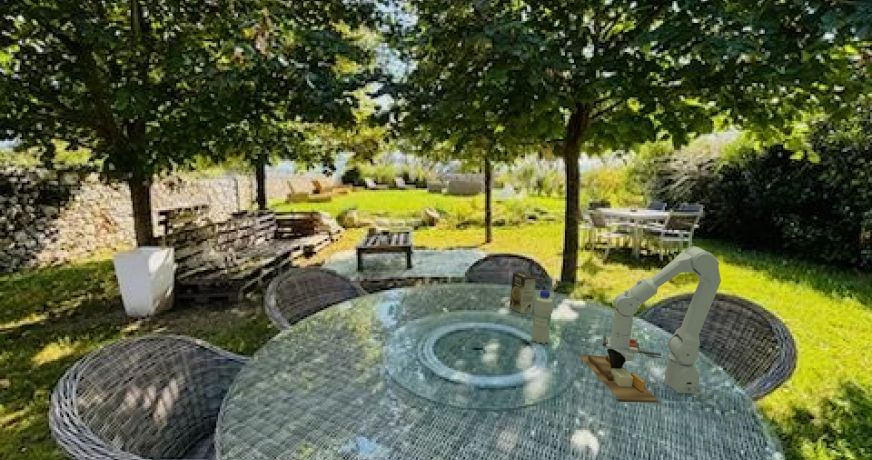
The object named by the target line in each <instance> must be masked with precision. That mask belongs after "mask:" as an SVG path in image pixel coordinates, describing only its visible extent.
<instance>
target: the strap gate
mask: <svg viewBox="0 0 872 460" xmlns="http://www.w3.org/2000/svg"><path fill="white" fill-rule="evenodd" d="M630 374H631V376H632V377H633V382H632V384H633V385H634V386H635V387H636V388H637V389H639V390H640V391H644V387H645V385H646V381H645V380H644V379H643V378H641V377H640V376H639V375H638V374H637V373H635V372H630Z"/></svg>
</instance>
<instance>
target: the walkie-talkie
mask: <svg viewBox="0 0 872 460" xmlns="http://www.w3.org/2000/svg"><path fill="white" fill-rule="evenodd" d="M606 337H609V336H606V335H605V336H604V338H603V339H604V340H603V343H602V346H603V347H607V346H606V344H608V343H606V342H605V341H606ZM629 347H630V350H631V353H636V354H644V355H649V356H662V353H660V352H653V351H646V350H641V349H640V348H641V347H640V343H639V342H637V340H636V339H635V338H634V337H630V344H629Z"/></svg>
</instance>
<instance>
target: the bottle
mask: <svg viewBox="0 0 872 460" xmlns="http://www.w3.org/2000/svg"><path fill="white" fill-rule="evenodd" d="M539 293H540V294H539V296H538V297H536V299H535V302H534V305H533V307H534V309H533V310H534V317H533V323H532V324H533V326H532V331H531V341H532V343H533V344H535V342H536V344H540V343H541V344H542V345H545V344H547V343H548V342H549V339H550V329H551V328H550V327H551V319H552V314H553V310H554V301H553V299H552V298H550V296H551V294H550V291H549V290H546V289H543V290H541V291H540V292H539Z"/></svg>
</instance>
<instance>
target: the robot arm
mask: <svg viewBox="0 0 872 460" xmlns="http://www.w3.org/2000/svg"><path fill="white" fill-rule="evenodd" d="M719 266H720V262H719V261H718V259H717V258H716V257H715V255H714V254H713V253H712V252H709V251H707V250H704V249H703V248H701V247H699V246H695V245H693V246H690V247H688V248H687V249H685V251H682V252H680V253H679V254H677V256H675V258H673V259H672V260H671V261H670V262H669V263H668V264H667V265H665V266H664V267H663V268H661V269H660V271H657V272H656V274H654V275H653V276H652V277H651V278H643V279H638V280H636V281H635V282H636V284H634V285H633V286H631V288H629V289H628V290H627V289H625V290H623V293H619V294H617V295H616V296H615V298H614V299H613V301H612V302H613V305H614V307H615V309H614V313H613V314H614V315H613V317H612V325H611V330H610V331H611V332H610V333H611V334H610V336H608V337H606V341H605V342H606V343H608V344H606V346H605V347H607V349H606V352H607V354H608V356H609V358H610V364H611V369H612V368H619V369H621V368H622V367H623V366H624V364H625V363H626V362H633V361H634V354H633V352H631V350H630V347H629V344H630V337H631V336H632V328H633V322H634V314H637V312H638V310H639V307H640V306H641V305H643V304H645V303H646V302H647V301H649V300H650V299H651V298H653V297H654V296H656V295H657V294H658V289H659V288H660V287H661V286H662V285H664V284H666V283H667V282H669V281H670V280H672V279H674V278H675V277H676V276H678V275H680V274H681V273H683V274H684V273H687V274H689V273H691V274H692V273H695V275H696V277H697V278H698V283H697V285H696V288H695V291H694V294H693V296H692V298H691V301H690V303H689V306H688V309H687V311H686V314H685V316H684V318H683V321H682V323H681V326H680V327H678V328H677V329H675V332H674V333H673V335H672V336H671V337H669V339H668V340H667V347H668V349H669V350H670V351H669V354H668V355H667V356H668V358H667V362H666V368H665V376H664V384H665V385H666V386H668V387H670V388H671V389H673V390H674V391H675V392H676V393H677V394H694V395H695V396H700V393H699V392H698V388H699V382H700V373H699V371H698V370H697V369H696V367H695V363H696V362H697V361H698V359H699V355H700V352H699V348H700V345H701V341H700V334H701V331H702V329H703V326H704V324H705V323H706V322H705V321H706V319H707V317H708V314H709V311H710V309H711V306H712V304H713V302H714V299H715V297H716V295H717V292H718V290H719V288H720V285H721V282H722V279H721V278H722V277H721V274H720V269H719Z"/></svg>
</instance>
